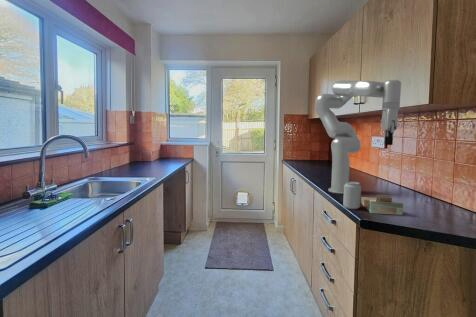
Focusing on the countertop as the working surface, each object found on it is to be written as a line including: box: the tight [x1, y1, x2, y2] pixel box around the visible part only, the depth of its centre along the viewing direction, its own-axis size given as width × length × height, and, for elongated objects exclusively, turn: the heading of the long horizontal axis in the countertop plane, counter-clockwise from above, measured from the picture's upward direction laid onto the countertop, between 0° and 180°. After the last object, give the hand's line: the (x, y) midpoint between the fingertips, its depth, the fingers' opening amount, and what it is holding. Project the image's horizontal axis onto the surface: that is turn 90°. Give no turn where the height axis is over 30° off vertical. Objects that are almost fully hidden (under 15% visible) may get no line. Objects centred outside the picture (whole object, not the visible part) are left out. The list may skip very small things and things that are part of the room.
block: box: [375, 194, 393, 202], centre depth 136 cm, size 5×5×4 cm
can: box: [342, 181, 362, 210], centre depth 142 cm, size 8×8×12 cm
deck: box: [360, 196, 404, 216], centre depth 141 cm, size 18×13×5 cm
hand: (388, 144), depth 149 cm, fingers closed
